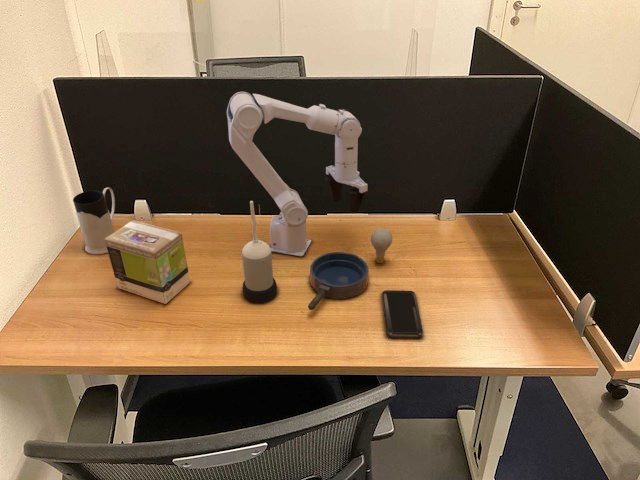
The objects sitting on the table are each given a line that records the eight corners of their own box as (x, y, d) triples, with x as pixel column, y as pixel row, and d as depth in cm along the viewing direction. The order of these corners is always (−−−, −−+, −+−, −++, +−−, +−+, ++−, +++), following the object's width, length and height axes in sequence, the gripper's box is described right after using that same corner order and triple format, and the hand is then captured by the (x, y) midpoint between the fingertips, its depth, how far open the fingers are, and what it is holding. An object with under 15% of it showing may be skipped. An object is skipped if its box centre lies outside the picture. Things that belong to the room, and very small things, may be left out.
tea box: (191, 281, 126) (183, 231, 118) (165, 306, 119) (154, 254, 111) (144, 266, 132) (132, 217, 123) (116, 289, 124) (102, 238, 116)
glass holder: (78, 252, 137) (62, 203, 129) (107, 225, 149) (95, 179, 141) (107, 256, 136) (93, 207, 128) (134, 228, 147) (123, 182, 139)
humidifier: (252, 279, 127) (243, 190, 113) (282, 286, 125) (277, 196, 111) (237, 299, 121) (226, 207, 107) (268, 307, 118) (261, 214, 105)
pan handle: (323, 288, 121) (323, 282, 120) (332, 290, 120) (332, 285, 119) (305, 309, 114) (305, 304, 114) (314, 313, 114) (314, 307, 113)
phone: (387, 334, 109) (382, 290, 121) (386, 338, 109) (381, 293, 122) (424, 335, 109) (415, 290, 121) (423, 338, 109) (414, 294, 122)
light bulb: (390, 256, 135) (392, 224, 130) (390, 268, 131) (393, 236, 125) (369, 255, 136) (371, 223, 130) (369, 267, 131) (371, 235, 126)
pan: (302, 293, 122) (302, 280, 120) (320, 260, 134) (320, 248, 132) (360, 304, 119) (360, 291, 117) (373, 270, 130) (373, 257, 128)
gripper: (377, 164, 127) (375, 211, 134) (340, 147, 136) (340, 191, 144) (355, 172, 123) (354, 220, 131) (319, 154, 133) (320, 199, 140)
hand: (345, 206), depth 137 cm, fingers open, 7 cm apart
